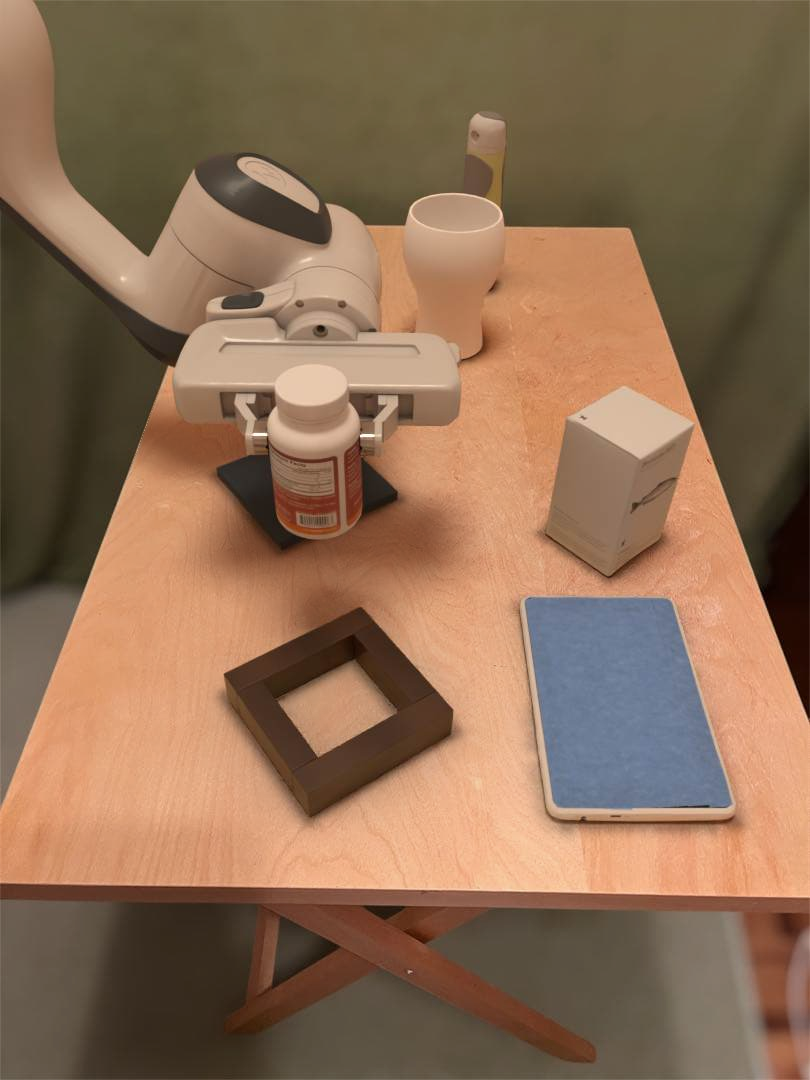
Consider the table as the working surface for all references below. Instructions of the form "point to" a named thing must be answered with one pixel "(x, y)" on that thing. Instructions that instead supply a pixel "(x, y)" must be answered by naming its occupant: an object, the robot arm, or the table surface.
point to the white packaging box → (616, 477)
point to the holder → (363, 754)
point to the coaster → (257, 496)
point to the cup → (453, 264)
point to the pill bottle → (315, 452)
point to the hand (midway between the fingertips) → (313, 447)
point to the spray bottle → (486, 157)
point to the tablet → (620, 712)
